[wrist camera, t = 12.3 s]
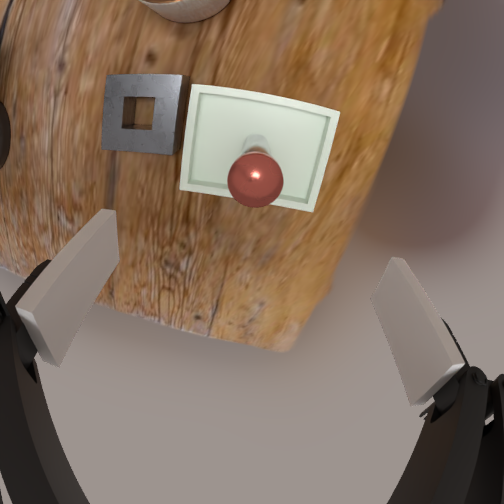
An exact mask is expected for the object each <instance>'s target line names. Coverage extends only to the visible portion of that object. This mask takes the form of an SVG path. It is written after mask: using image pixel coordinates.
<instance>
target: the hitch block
mask: <svg viewBox="0 0 504 504" xmlns="http://www.w3.org/2000/svg"><path fill="white" fill-rule="evenodd" d="M189 80H190V76H184V75H170V74H119V75H107V78H106V86H105V96H104V108H103V123H102V150H119V151H133V152H145V153H156V154H166V155H173V154H174V153H175V152H176V151H178V150H179V149H180V146H181V137H182V129H183V121H184V113H185V106H186V99H187V93H188V86H189ZM136 97H155V105H154V114H153V123H152V125H140V124H134V117H135V106H136Z"/></svg>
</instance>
